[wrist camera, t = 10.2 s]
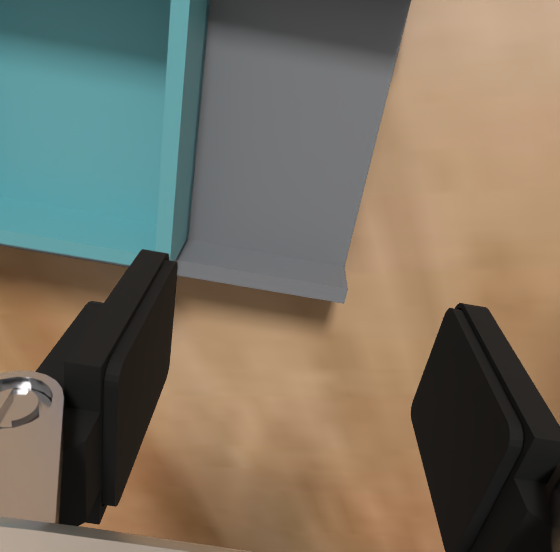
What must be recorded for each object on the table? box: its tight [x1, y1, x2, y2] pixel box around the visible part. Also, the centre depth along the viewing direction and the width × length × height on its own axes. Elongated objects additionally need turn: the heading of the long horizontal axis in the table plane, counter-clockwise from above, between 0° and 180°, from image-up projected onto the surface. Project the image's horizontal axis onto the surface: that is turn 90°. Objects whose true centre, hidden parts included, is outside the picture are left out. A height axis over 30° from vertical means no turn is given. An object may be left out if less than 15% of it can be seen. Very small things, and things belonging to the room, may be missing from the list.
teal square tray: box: [0, 0, 210, 265], centre depth 26 cm, size 14×14×5 cm
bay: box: [0, 0, 411, 303], centre depth 28 cm, size 17×26×4 cm, turn 81°
